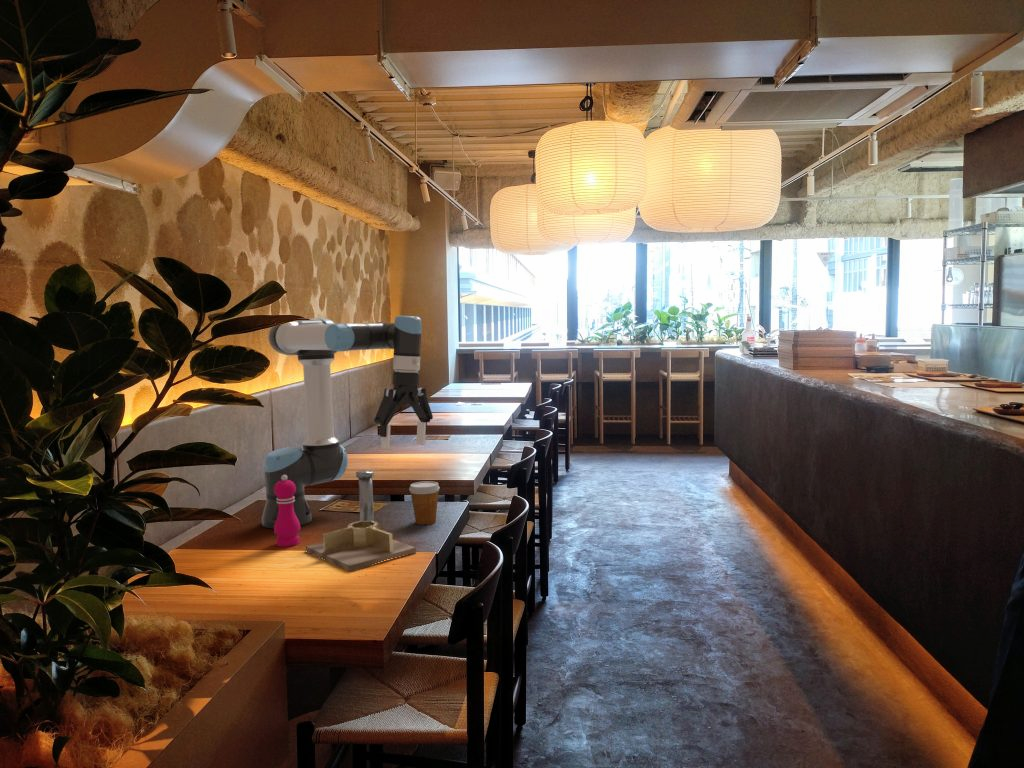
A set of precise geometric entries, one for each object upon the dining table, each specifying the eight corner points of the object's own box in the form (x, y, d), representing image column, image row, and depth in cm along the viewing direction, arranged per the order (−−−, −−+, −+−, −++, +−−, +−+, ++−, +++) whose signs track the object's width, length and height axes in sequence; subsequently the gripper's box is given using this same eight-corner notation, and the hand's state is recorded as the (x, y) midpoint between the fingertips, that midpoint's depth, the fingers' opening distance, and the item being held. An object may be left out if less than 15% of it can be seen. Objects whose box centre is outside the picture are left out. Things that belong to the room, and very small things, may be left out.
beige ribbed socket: (317, 549, 194) (316, 531, 193) (368, 536, 205) (368, 519, 204) (351, 563, 181) (350, 544, 180) (404, 549, 191) (403, 531, 191)
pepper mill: (296, 547, 201) (292, 477, 200) (271, 547, 202) (267, 477, 200) (304, 539, 209) (300, 471, 207) (279, 540, 209) (276, 472, 207)
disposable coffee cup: (413, 518, 228) (411, 481, 227) (443, 517, 228) (441, 480, 227) (407, 526, 219) (406, 488, 218) (438, 526, 219) (437, 487, 218)
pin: (355, 531, 215) (352, 472, 213) (370, 528, 218) (367, 469, 217) (364, 535, 211) (361, 474, 210) (379, 531, 214) (377, 471, 213)
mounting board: (305, 551, 197) (305, 546, 197) (368, 535, 210) (368, 530, 210) (350, 571, 179) (349, 565, 179) (415, 552, 193) (415, 547, 193)
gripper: (381, 372, 188) (378, 452, 189) (446, 371, 207) (443, 444, 209) (362, 370, 192) (360, 448, 194) (428, 370, 212) (425, 441, 213)
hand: (403, 446), depth 201 cm, fingers open, 13 cm apart
